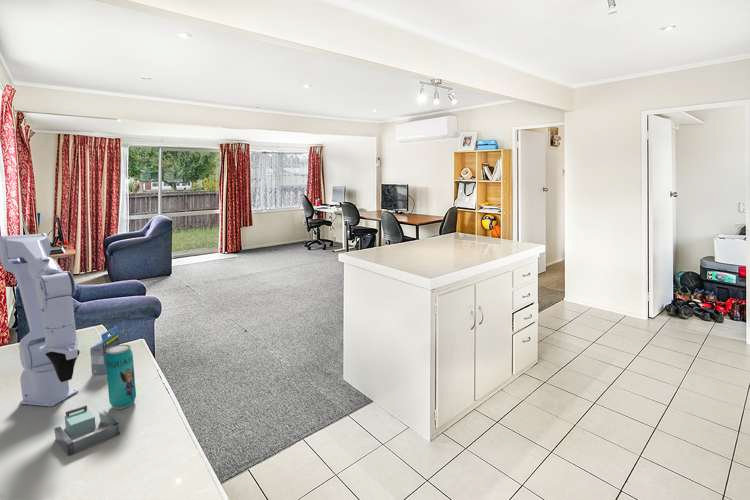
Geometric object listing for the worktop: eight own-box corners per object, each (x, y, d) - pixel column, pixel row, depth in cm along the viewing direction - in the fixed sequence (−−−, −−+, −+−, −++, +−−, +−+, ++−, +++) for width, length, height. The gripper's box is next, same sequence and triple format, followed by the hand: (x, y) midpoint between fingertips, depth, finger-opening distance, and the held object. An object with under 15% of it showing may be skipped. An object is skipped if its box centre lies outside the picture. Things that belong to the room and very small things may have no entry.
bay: (55, 439, 88) (54, 428, 87) (105, 419, 95) (104, 410, 95) (68, 455, 82) (67, 444, 82) (120, 434, 90) (119, 423, 89)
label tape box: (107, 362, 127) (104, 325, 125) (121, 362, 127) (118, 324, 125) (91, 375, 118) (87, 335, 116) (106, 374, 118) (102, 334, 116)
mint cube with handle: (65, 428, 92) (63, 411, 92) (89, 420, 95) (87, 404, 95) (72, 437, 89) (70, 420, 88) (95, 429, 92) (94, 412, 91)
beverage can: (124, 411, 99) (118, 353, 96) (104, 409, 100) (98, 351, 98) (141, 400, 104) (137, 345, 102) (122, 397, 105) (118, 343, 103)
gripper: (29, 322, 94) (35, 377, 96) (47, 336, 85) (54, 396, 87) (65, 315, 100) (71, 367, 102) (86, 328, 91) (91, 384, 93)
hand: (65, 379), depth 95 cm, fingers closed
